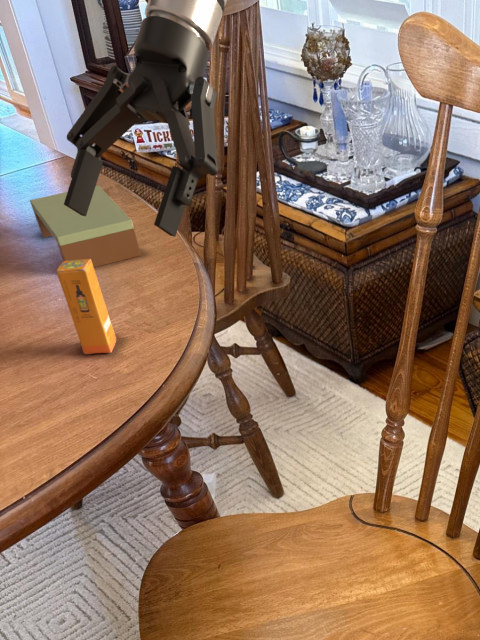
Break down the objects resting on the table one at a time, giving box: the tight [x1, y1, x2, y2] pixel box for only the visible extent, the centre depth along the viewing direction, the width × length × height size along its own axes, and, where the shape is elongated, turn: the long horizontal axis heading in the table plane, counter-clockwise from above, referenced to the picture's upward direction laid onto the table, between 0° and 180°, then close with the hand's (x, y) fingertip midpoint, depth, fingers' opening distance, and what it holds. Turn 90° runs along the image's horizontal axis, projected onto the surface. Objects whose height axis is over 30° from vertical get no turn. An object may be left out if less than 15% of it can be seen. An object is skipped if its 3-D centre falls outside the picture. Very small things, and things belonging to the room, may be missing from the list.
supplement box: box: [56, 259, 117, 355], centre depth 87 cm, size 3×3×10 cm
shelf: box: [29, 185, 142, 268], centre depth 110 cm, size 16×10×5 cm, turn 32°
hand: (118, 220), depth 87 cm, fingers open, 13 cm apart
